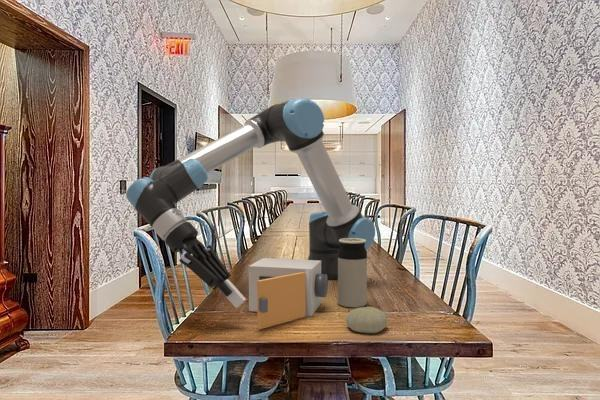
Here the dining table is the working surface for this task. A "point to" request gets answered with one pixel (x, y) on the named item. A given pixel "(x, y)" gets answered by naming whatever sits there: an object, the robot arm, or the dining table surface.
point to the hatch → (281, 299)
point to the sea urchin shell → (366, 320)
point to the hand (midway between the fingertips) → (241, 303)
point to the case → (281, 267)
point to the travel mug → (352, 273)
